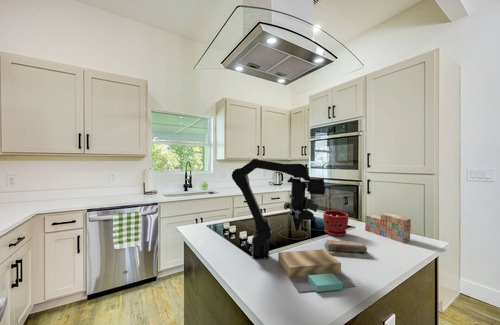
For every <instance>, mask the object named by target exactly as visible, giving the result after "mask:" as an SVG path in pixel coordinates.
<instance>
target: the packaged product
mask: <svg viewBox="0 0 500 325" xmlns="http://www.w3.org/2000/svg"><path fill="white" fill-rule="evenodd" d="M323 246H324V250H325V251H326V252H328V253H329V254H330V255H331V256H339V257H349V258H358V259H372V257H373V256H372V255H371V254H370V253H369V252H368V248H367V246H366V244H364V243H362V242H354V241H345V240H334V239H326V241H325V243H324V244H323Z"/></svg>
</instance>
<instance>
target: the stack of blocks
mask: <svg viewBox="0 0 500 325" xmlns="http://www.w3.org/2000/svg"><path fill="white" fill-rule="evenodd" d="M411 223H412V219H411V218H409V217H406V216H403V215H397V214H394V213H393V214H392V213H388V212H385V213H381V214H380V215H377V214H376V215H375V214H367V215H365V228H364V230H365V231H366V232H369V233H372V234H375V235H379V236H380V237H383V238H388V239H390V240H393V241H396V242H399V243H402V244H406V243H410V242H411V229H412V228H411V227H412V226H411Z"/></svg>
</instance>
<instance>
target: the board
mask: <svg viewBox="0 0 500 325" xmlns="http://www.w3.org/2000/svg"><path fill="white" fill-rule="evenodd" d="M277 261H278V262H277V263H278V264H279V265H280V267H281V269H282V270H283V272H284V273H285V274H286V276H287V277H288V279H289V278H293V277H304V276H308V275H318V274H329V273H332V274H336V273H341V274H342V262H341V261H339V260H338V259H337V258H336V257H334V255H330V254H329V253H328V252H327V251H326V249H325V248H324V249H310V250H295V251H279V252H278V255H277Z"/></svg>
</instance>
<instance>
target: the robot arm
mask: <svg viewBox="0 0 500 325" xmlns="http://www.w3.org/2000/svg"><path fill="white" fill-rule="evenodd" d="M256 169H260V170H267V171H273V172H280V173H283V174H287V175H289V176H290V177H289V178H288V179H287V180H286V181H287V183H290V184H291V189H290V190H291V193H290V194H289V198H290V201H286V202H285V203H284V204H283V209H284V210H288V209H289V211H288V212H287V214H288V216H289V219H290V222H291V223H292V224H291V225H292V226H293V229H294V231H295V232H298V231H299V229H300V226H301V225H302V221H308V220H311V221H312V220H313V221H314V219H315V218H314V217H315V216H314V213H313V212H315V213H317V211H318V208H319V204H318V203H315V202H314V201H312V199H311V198H308V197H307V196H306V193H307V192H308V195H313V196H315V195H316V196H324V195H325V193H326V186H325V185H326V184H325V179H324V178H321V177H320V178H312V177H311V176H310V175H309V174H308V168H307V167H306V165H304V164H302V163H282V162H275V161H270V160H269V161H268V160H261V159H259V158H252V160H251V161H249V162H247V163H246V164H245V165H244V166H242V167H239V168H236V169H234V170H233V171H232V173H231V179H232V181H234V183H235V185H236V186H237V187H238V188H239V189H240V191H241V193H242V196H243V197H244V199H245V202H246V204H247V206H248V208H249V211H250V214H251V215H252V218H253V220H254V225H255V230H256V231H254V233H253V236H252V239H251V251H250V253H251V256H252V259H253V260H261V259H269V254H270V253H269V252H270V245H269V242H268V240H270V238H271V236H272V230H273V225H272V223H271V220H270V218H269V217H267V218H265V216H264V215H263V212H262V211H261V208H260V206H259V203H258V201H257V199H256V197H255V194H254V192H253V190H252V188H251V184H250V178H249V174H250V173H252V172H253V171H254V170H256ZM293 177H295V178H293ZM302 179H303V180H304V181H303V180H302Z"/></svg>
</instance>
